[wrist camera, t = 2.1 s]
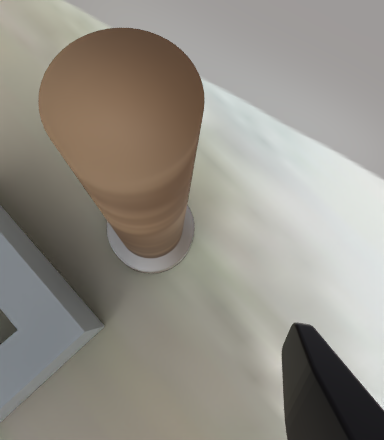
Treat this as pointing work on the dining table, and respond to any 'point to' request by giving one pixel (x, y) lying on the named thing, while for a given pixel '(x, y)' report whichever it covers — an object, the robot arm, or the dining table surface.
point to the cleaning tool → (129, 137)
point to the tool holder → (35, 317)
